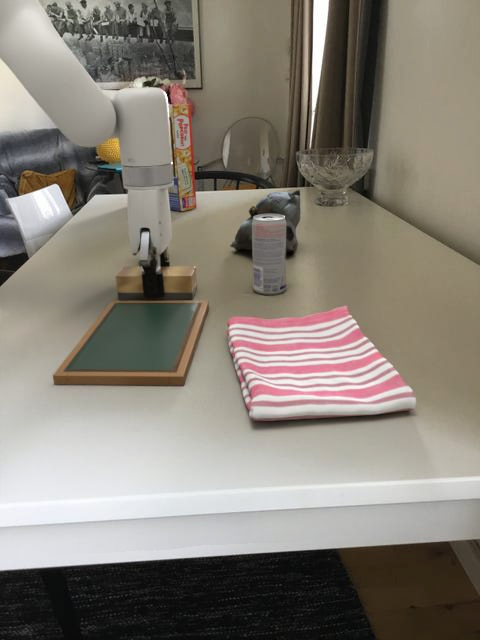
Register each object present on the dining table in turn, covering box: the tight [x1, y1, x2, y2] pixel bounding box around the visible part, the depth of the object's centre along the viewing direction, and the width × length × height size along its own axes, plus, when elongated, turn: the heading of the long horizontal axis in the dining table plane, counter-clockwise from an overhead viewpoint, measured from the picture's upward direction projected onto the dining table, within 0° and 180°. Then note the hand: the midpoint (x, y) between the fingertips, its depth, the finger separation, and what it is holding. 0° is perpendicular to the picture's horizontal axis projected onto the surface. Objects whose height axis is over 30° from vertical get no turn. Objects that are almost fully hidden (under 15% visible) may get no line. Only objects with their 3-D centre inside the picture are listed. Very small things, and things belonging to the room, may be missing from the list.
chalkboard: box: [52, 300, 210, 387], centre depth 75 cm, size 15×24×1 cm, turn 176°
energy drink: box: [251, 214, 287, 296], centre depth 90 cm, size 5×5×12 cm
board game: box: [168, 103, 197, 212], centre depth 155 cm, size 20×6×27 cm, turn 46°
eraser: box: [115, 265, 198, 301], centre depth 91 cm, size 12×5×4 cm, turn 86°
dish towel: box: [226, 305, 417, 422], centre depth 66 cm, size 17×23×4 cm
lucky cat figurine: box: [229, 189, 302, 255], centre depth 113 cm, size 15×12×14 cm
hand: (158, 289), depth 92 cm, fingers closed on eraser, 5 cm apart
